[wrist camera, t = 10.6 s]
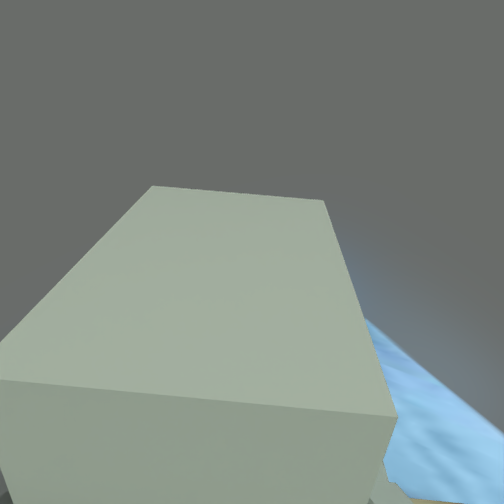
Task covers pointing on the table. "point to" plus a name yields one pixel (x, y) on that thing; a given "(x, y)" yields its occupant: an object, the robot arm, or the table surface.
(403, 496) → the robot arm
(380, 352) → the table surface
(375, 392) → the white carton
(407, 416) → the table surface
